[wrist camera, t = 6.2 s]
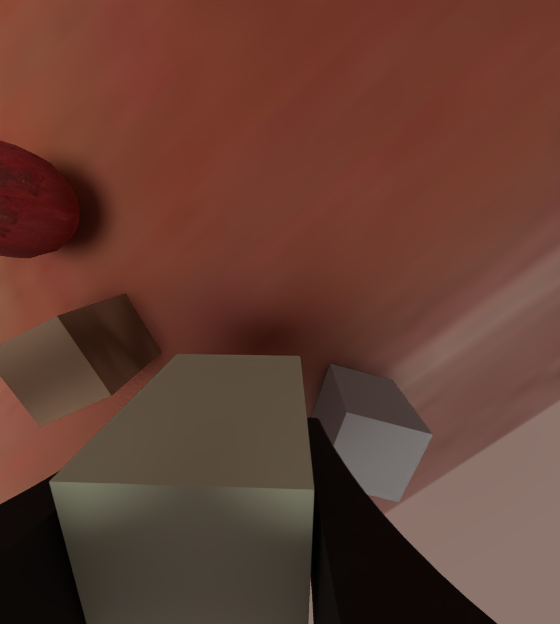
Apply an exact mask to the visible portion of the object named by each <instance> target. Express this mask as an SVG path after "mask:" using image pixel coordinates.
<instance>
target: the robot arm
mask: <svg viewBox="0 0 560 624" xmlns="http://www.w3.org/2000/svg"><path fill="white" fill-rule="evenodd" d="M307 424H308V434H309V443H310V453H311V463H312V472H313V482H314V508H313V530H312V552H311V574H310V577H311V587H312V602H313V618H314V619H313V620H314V624H497V623H496V622H495V621H493V620H492V619H491V618H490V617H489V616H487V615H486V614H485V613H484V612H483V611H482V610H480V609H479V608H478V607H477V606H476V605H474V604H473V603H472V602H471V601H470V600H469V599H467V598H466V597H465V596H464V595H463V594H462V593H461V592H460V591H459V590H458V589H456V588H455V587H454V586H453V585H452V584H451V583H450V582H449V581H448V580H447V579H446V578H444V577H443V576H442V575H441V574H440V573H439V572H438V571H437V570H436V569H435V568H434V567H433V566H432V565H431V564H430V563H429V562H428V561H427V560H426V559H425V558H424V557H423V556H422V555H421V554H420V553H419V552H418V551H417V550H416V549H415V548H414V547H413V546H412V545H411V544H410V543H409V542H408V541H407V540H406V539H405V538H404V537H403V535H402V534H401V533H400V532H399V531H398V530H397V529H396V528H395V527H394V526H393V524H392V523H391V522H390V521H389V520H388V519H387V518H386V517H385V515H384V514H383V513H382V512H381V511H380V510H379V508H378V507H377V506H376V505H375V504H374V502H373V501H372V500H371V499H370V497H369V496H368V495H367V494H366V492H365V491H364V490H363V488H362V487H361V486H360V484H359V483H358V482H357V480H356V479H355V478H354V476H353V475H352V474H351V472H350V471H349V469H348V468H347V466H346V465H345V463H344V462H343V460H342V459H341V457H340V456H339V454H338V453H337V451H336V449H335V448H334V446H333V444H332V443H331V441H330V439H329V437H328V436H327V434H326V432H325V430H324V428H323V426H322V424H321V422H320V420H319V419H318V418H307ZM58 472H59V471H58ZM58 472H57V473H58ZM57 473H55V474H54V475H52V476H50V477H48V478H47V479H45V480H43V481H42V482H40V483H38V484H36V485H35V486H33V487H31V488H29V489H28V490H26V491H24V492H22V493H20V494H18V495H17V496H15V497H13V498H11V499H9V500H7V501H6V502H4V503H2V504H0V624H86V620H85V616H84V612H83V609H82V605H81V601H80V597H79V593H78V590H77V586H76V582H75V578H74V574H73V571H72V567H71V563H70V559H69V555H68V552H67V548H66V544H65V540H64V537H63V533H62V529H61V525H60V521H59V518H58V514H57V510H56V506H55V502H54V499H53V495H52V491H51V487H50V483H49V481H50V480H51V479H52V478H53V477H54V476H55V475H56V474H57Z"/></svg>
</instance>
